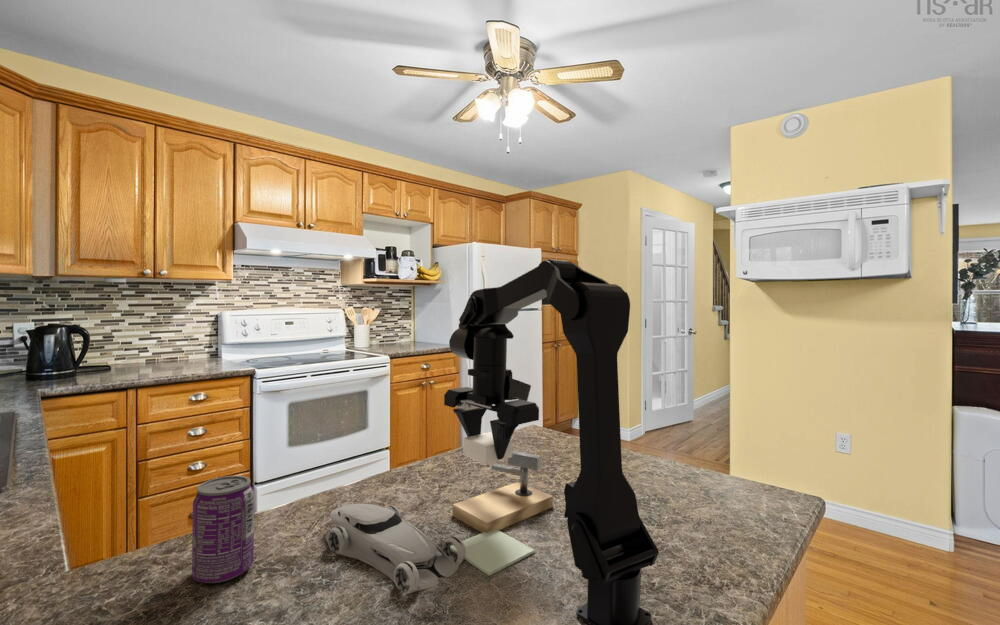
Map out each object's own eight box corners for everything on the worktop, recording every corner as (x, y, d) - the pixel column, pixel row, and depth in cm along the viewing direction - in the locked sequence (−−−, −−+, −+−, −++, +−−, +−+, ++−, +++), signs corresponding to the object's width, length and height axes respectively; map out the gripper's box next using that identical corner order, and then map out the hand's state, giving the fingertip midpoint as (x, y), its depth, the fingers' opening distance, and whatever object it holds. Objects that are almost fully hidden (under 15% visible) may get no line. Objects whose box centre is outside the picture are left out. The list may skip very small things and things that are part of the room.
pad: (489, 575, 62) (489, 572, 62) (449, 549, 69) (449, 546, 69) (534, 552, 69) (534, 550, 69) (493, 530, 75) (493, 527, 75)
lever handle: (490, 485, 88) (491, 449, 88) (494, 483, 89) (495, 447, 89) (536, 496, 83) (537, 458, 83) (540, 493, 85) (541, 455, 85)
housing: (486, 535, 73) (486, 522, 73) (452, 515, 80) (452, 503, 80) (552, 507, 84) (552, 495, 84) (517, 491, 91) (517, 481, 91)
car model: (411, 603, 57) (412, 563, 57) (308, 538, 72) (309, 506, 72) (472, 565, 66) (472, 530, 66) (368, 514, 81) (369, 486, 81)
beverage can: (240, 552, 67) (241, 470, 67) (262, 571, 63) (263, 483, 62) (183, 573, 62) (184, 484, 61) (203, 595, 57) (204, 499, 57)
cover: (486, 464, 75) (486, 446, 75) (463, 455, 80) (463, 437, 80) (512, 456, 79) (512, 439, 79) (489, 448, 84) (489, 431, 84)
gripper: (562, 366, 78) (559, 458, 78) (489, 355, 91) (487, 434, 92) (515, 371, 70) (512, 473, 70) (443, 359, 84) (441, 444, 84)
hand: (487, 454), depth 79 cm, fingers closed on cover, 6 cm apart
